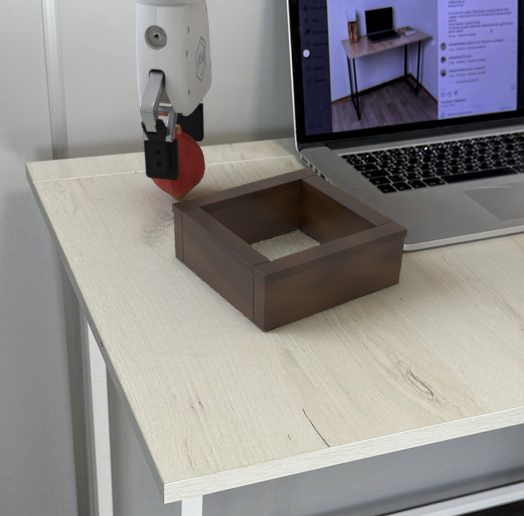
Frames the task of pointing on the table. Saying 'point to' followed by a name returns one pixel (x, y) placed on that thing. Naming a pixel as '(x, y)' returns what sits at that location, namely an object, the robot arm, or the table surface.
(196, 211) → the wooden box
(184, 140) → the red rounded tapered piece
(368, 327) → the table surface
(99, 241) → the table surface
